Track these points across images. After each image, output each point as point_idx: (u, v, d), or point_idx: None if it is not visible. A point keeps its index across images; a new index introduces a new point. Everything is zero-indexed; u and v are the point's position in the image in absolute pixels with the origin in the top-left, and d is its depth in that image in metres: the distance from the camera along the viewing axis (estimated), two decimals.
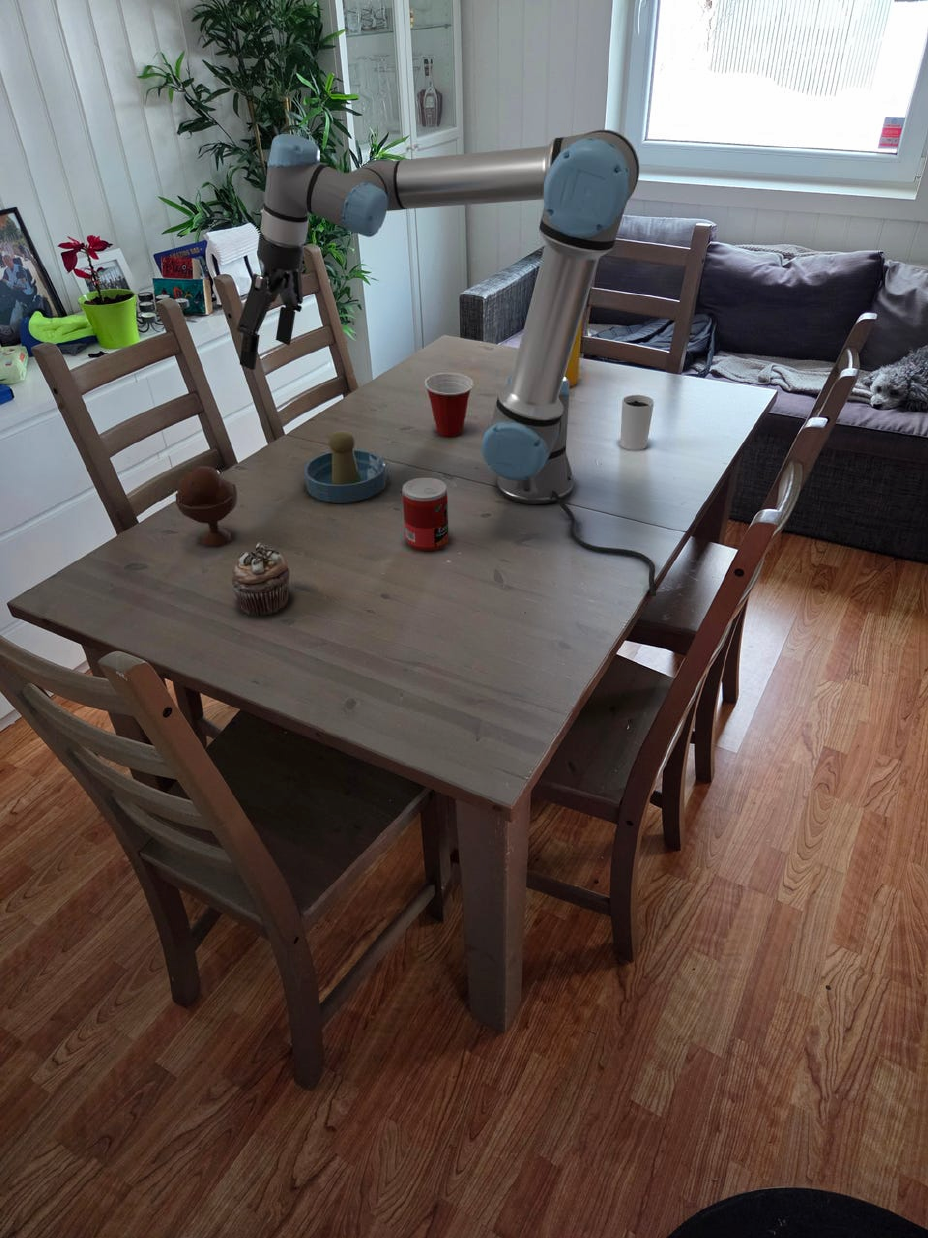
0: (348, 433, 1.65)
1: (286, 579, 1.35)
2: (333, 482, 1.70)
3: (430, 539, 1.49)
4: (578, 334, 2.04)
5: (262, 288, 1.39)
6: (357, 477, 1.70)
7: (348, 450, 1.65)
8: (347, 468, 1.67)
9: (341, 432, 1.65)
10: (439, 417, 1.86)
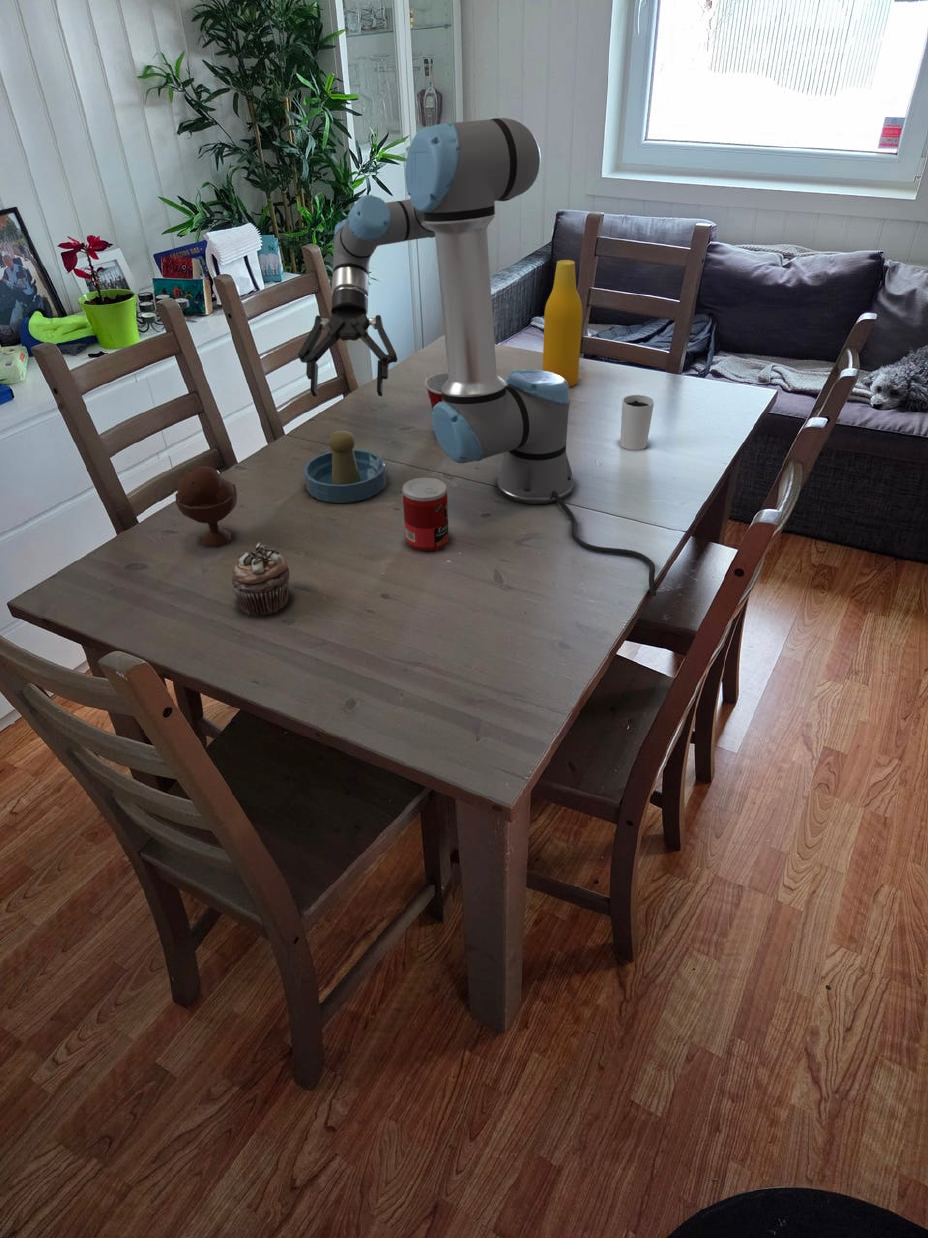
0: (348, 433, 1.65)
1: (286, 579, 1.35)
2: (333, 482, 1.70)
3: (430, 539, 1.49)
4: (578, 334, 2.04)
5: None
6: (357, 477, 1.70)
7: (348, 450, 1.65)
8: (347, 468, 1.67)
9: (341, 432, 1.65)
10: None
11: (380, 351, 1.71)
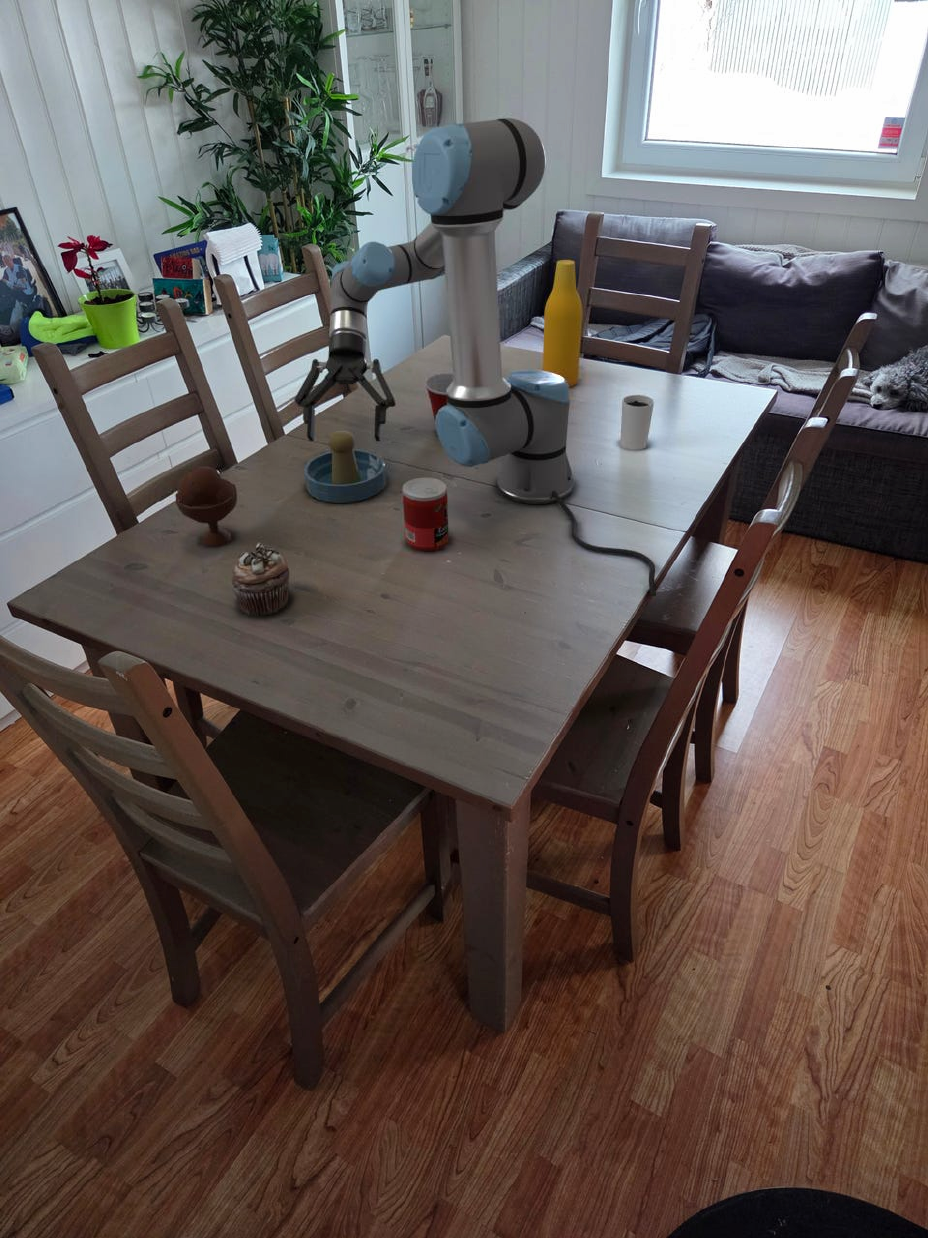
0: (348, 433, 1.65)
1: (286, 579, 1.35)
2: (333, 482, 1.70)
3: (430, 539, 1.49)
4: (578, 334, 2.04)
5: None
6: (357, 477, 1.70)
7: (348, 450, 1.65)
8: (347, 468, 1.67)
9: (341, 432, 1.65)
10: None
11: (378, 396, 1.68)
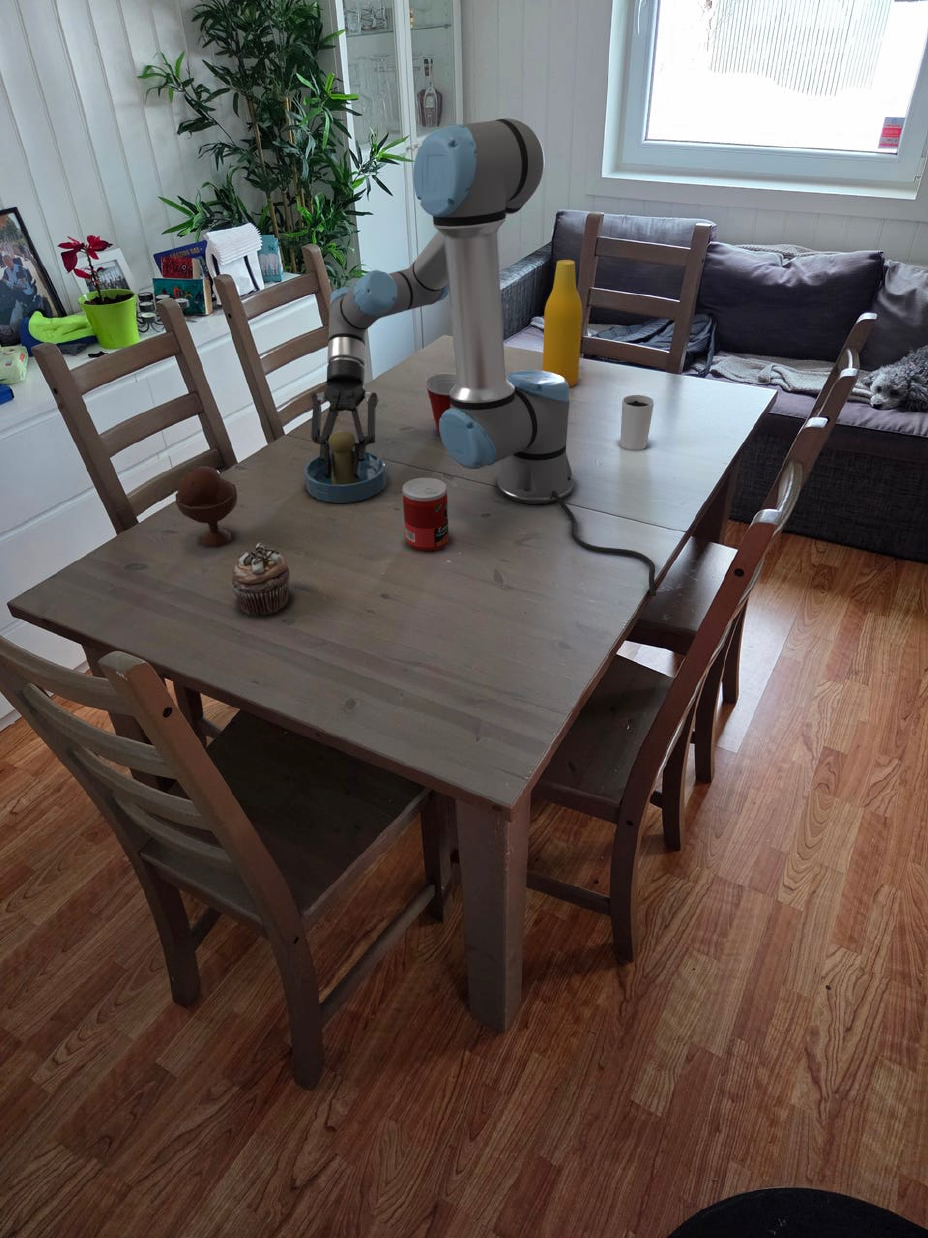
0: (348, 433, 1.65)
1: (286, 579, 1.35)
2: (333, 482, 1.70)
3: (430, 539, 1.49)
4: (578, 334, 2.04)
5: (312, 401, 1.68)
6: None
7: (348, 450, 1.65)
8: (347, 468, 1.67)
9: (341, 432, 1.65)
10: (439, 417, 1.86)
11: (360, 432, 1.66)
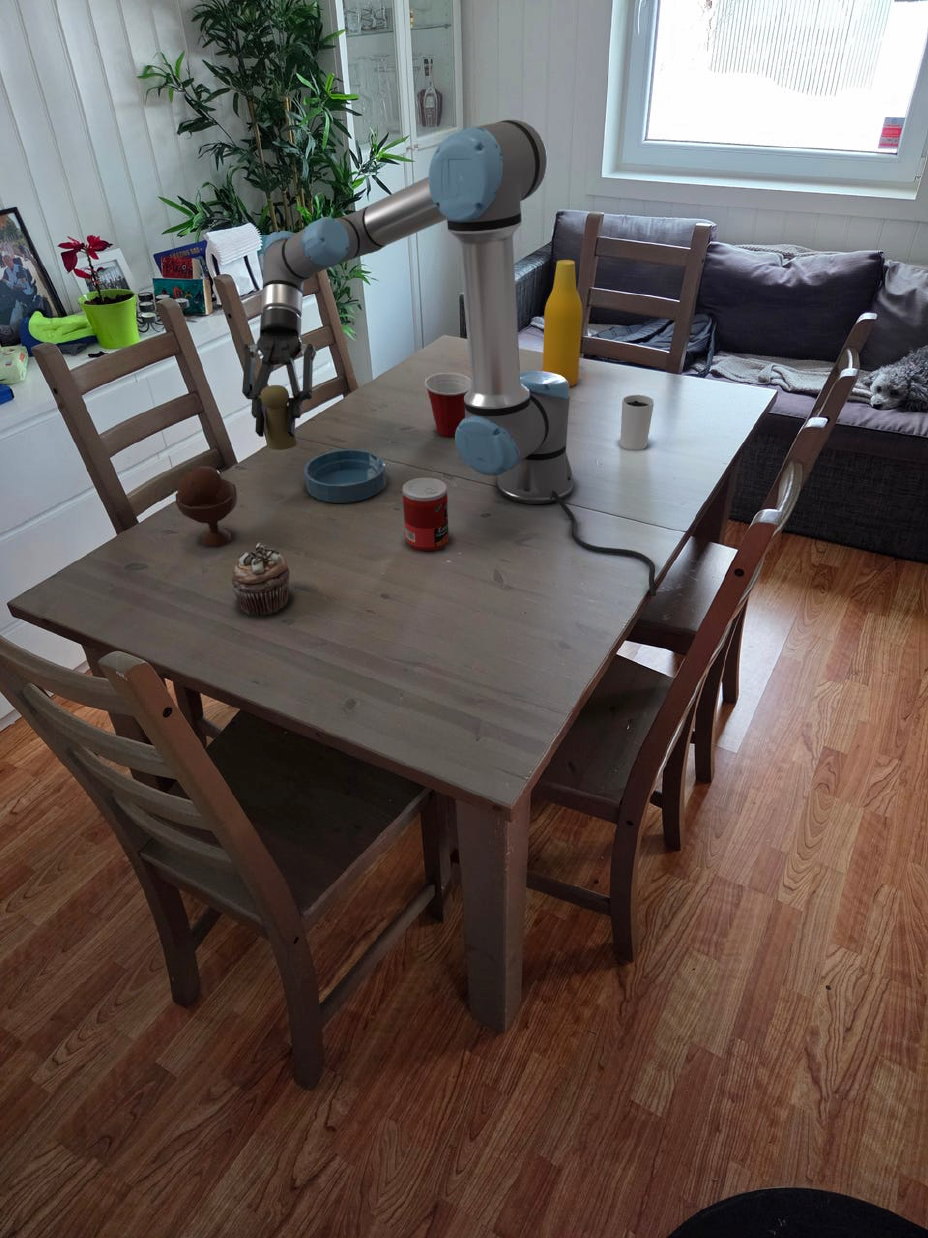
0: (281, 387, 1.53)
1: (286, 579, 1.35)
2: (267, 441, 1.58)
3: (430, 539, 1.49)
4: (578, 334, 2.04)
5: (244, 353, 1.56)
6: None
7: (281, 406, 1.53)
8: (281, 425, 1.55)
9: (274, 386, 1.54)
10: (439, 417, 1.86)
11: (295, 386, 1.54)
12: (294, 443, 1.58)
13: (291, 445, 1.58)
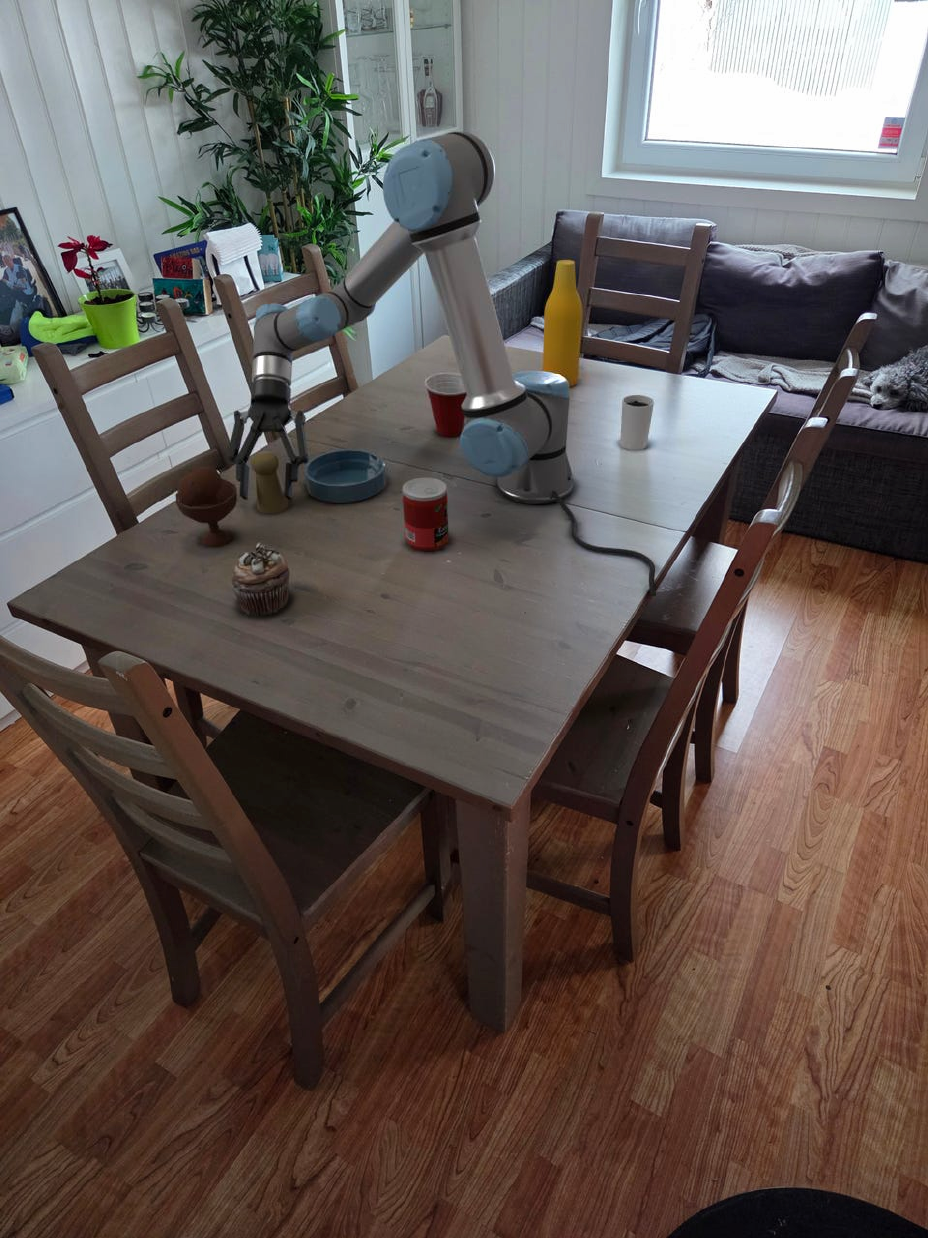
0: (271, 454, 1.59)
1: (286, 579, 1.35)
2: (258, 504, 1.64)
3: (430, 539, 1.49)
4: (578, 334, 2.04)
5: (234, 419, 1.62)
6: (283, 499, 1.63)
7: (271, 472, 1.59)
8: (271, 490, 1.61)
9: (264, 453, 1.59)
10: (439, 417, 1.86)
11: (291, 452, 1.60)
12: (284, 506, 1.64)
13: (281, 508, 1.63)
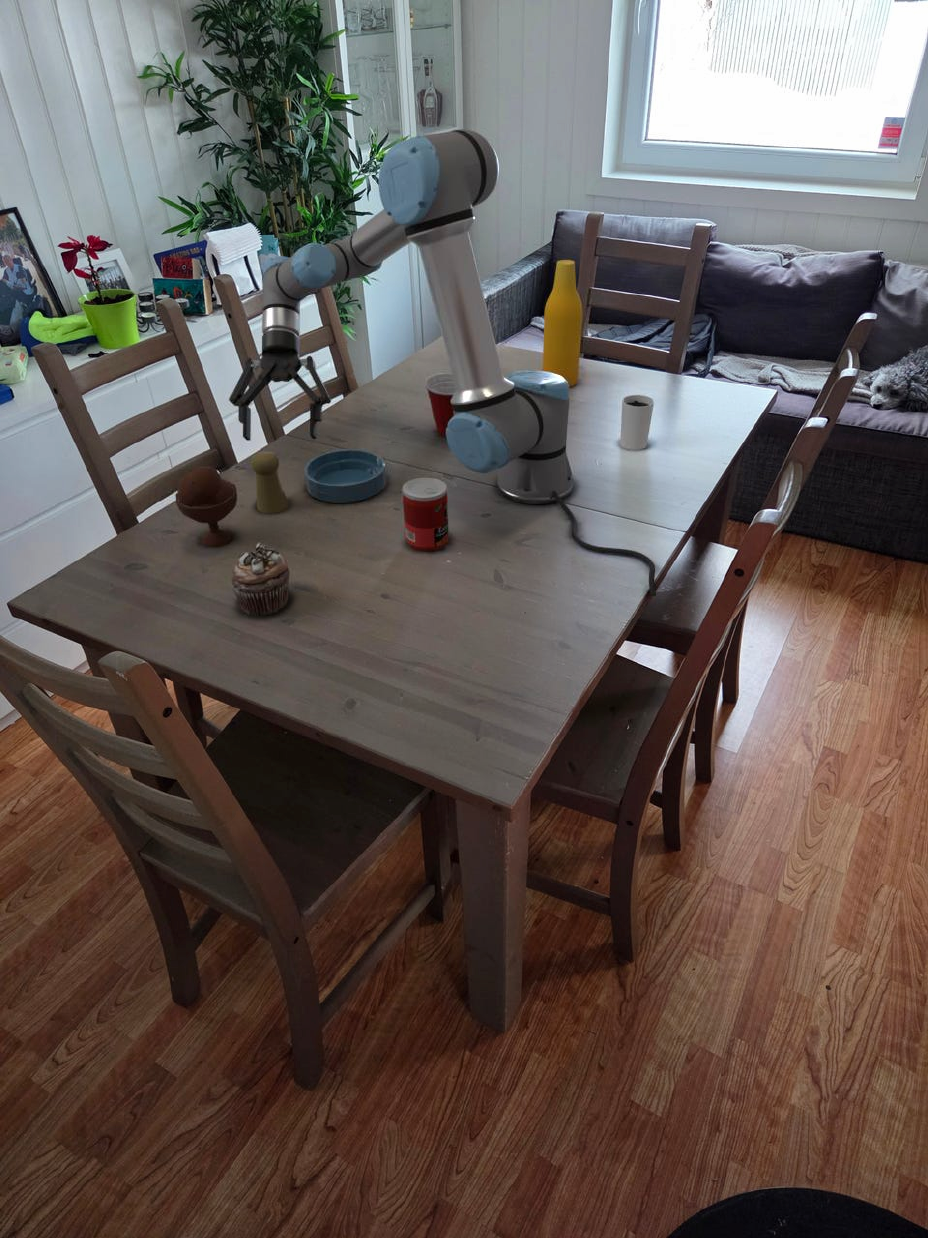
0: (271, 454, 1.59)
1: (286, 579, 1.35)
2: (258, 504, 1.64)
3: (430, 539, 1.49)
4: (578, 334, 2.04)
5: (245, 365, 1.69)
6: (283, 499, 1.63)
7: (271, 472, 1.59)
8: (271, 490, 1.61)
9: (264, 453, 1.59)
10: (439, 417, 1.86)
11: (312, 394, 1.68)
12: (284, 506, 1.64)
13: (281, 508, 1.63)
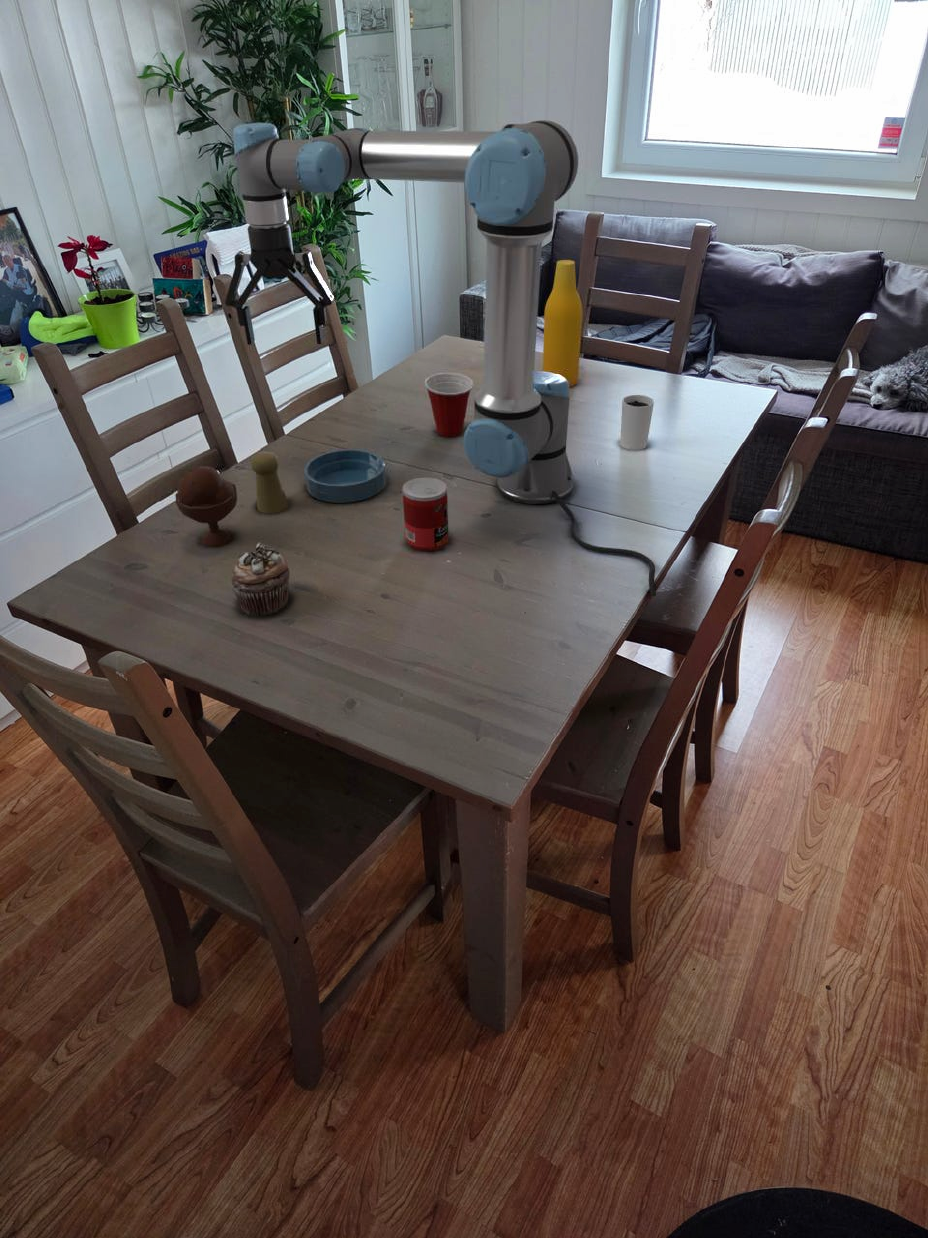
0: (271, 454, 1.59)
1: (286, 579, 1.35)
2: (258, 504, 1.64)
3: (430, 539, 1.49)
4: (578, 334, 2.04)
5: (235, 262, 1.53)
6: (283, 499, 1.63)
7: (271, 472, 1.59)
8: (271, 490, 1.61)
9: (264, 453, 1.59)
10: (439, 417, 1.86)
11: (314, 298, 1.56)
12: (284, 506, 1.64)
13: (281, 508, 1.63)
